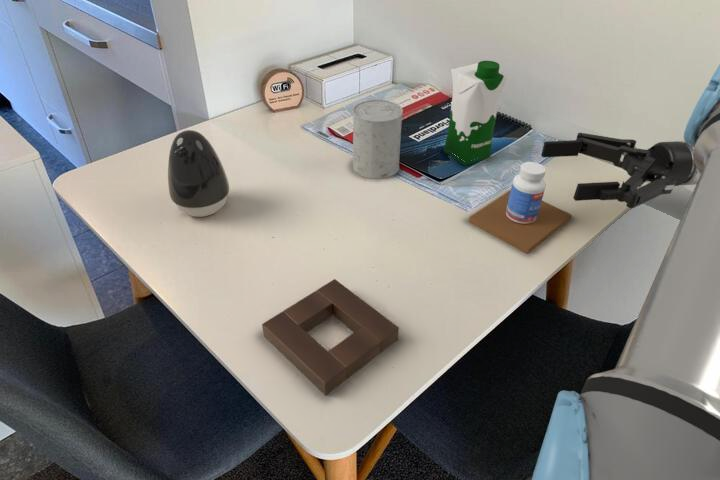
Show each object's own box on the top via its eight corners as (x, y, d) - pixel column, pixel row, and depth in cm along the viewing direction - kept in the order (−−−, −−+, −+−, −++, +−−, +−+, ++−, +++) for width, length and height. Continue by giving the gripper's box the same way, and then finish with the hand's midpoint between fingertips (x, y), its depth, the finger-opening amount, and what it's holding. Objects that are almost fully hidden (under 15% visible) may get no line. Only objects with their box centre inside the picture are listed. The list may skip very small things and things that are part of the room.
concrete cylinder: (394, 181, 102) (398, 124, 95) (347, 175, 104) (347, 118, 96) (402, 157, 110) (406, 102, 102) (358, 152, 111) (359, 97, 104)
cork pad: (527, 253, 86) (528, 249, 85) (468, 221, 92) (469, 217, 92) (570, 219, 93) (572, 214, 92) (513, 191, 100) (514, 187, 99)
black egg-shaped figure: (165, 223, 91) (143, 145, 82) (187, 190, 99) (169, 116, 90) (221, 227, 90) (206, 149, 81) (239, 194, 98) (227, 119, 89)
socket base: (325, 396, 64) (324, 383, 62) (263, 336, 71) (261, 323, 70) (398, 339, 71) (399, 327, 69) (335, 290, 78) (334, 278, 77)
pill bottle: (529, 228, 89) (542, 180, 83) (500, 217, 92) (510, 169, 85) (541, 213, 93) (554, 166, 86) (513, 203, 95) (523, 156, 89)
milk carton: (464, 169, 106) (479, 73, 94) (437, 150, 112) (447, 57, 100) (496, 158, 110) (515, 64, 97) (468, 140, 116) (482, 49, 103)
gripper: (716, 225, 81) (585, 233, 79) (634, 147, 100) (527, 152, 99) (738, 184, 76) (600, 192, 75) (647, 111, 96) (536, 115, 94)
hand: (558, 169), depth 87 cm, fingers open, 13 cm apart
